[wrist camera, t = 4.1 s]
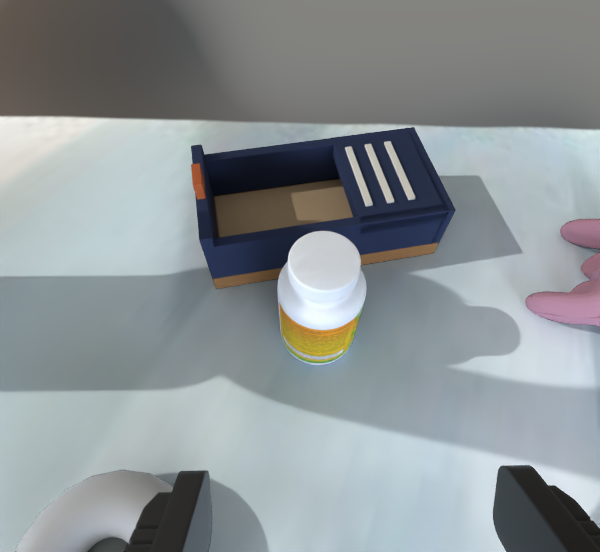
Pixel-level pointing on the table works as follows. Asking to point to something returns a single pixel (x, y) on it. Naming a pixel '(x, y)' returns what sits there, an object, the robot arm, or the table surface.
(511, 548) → the robot arm
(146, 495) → the donut
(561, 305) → the video game controller
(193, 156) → the navy storage tray
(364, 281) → the supplement bottle
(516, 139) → the table surface
